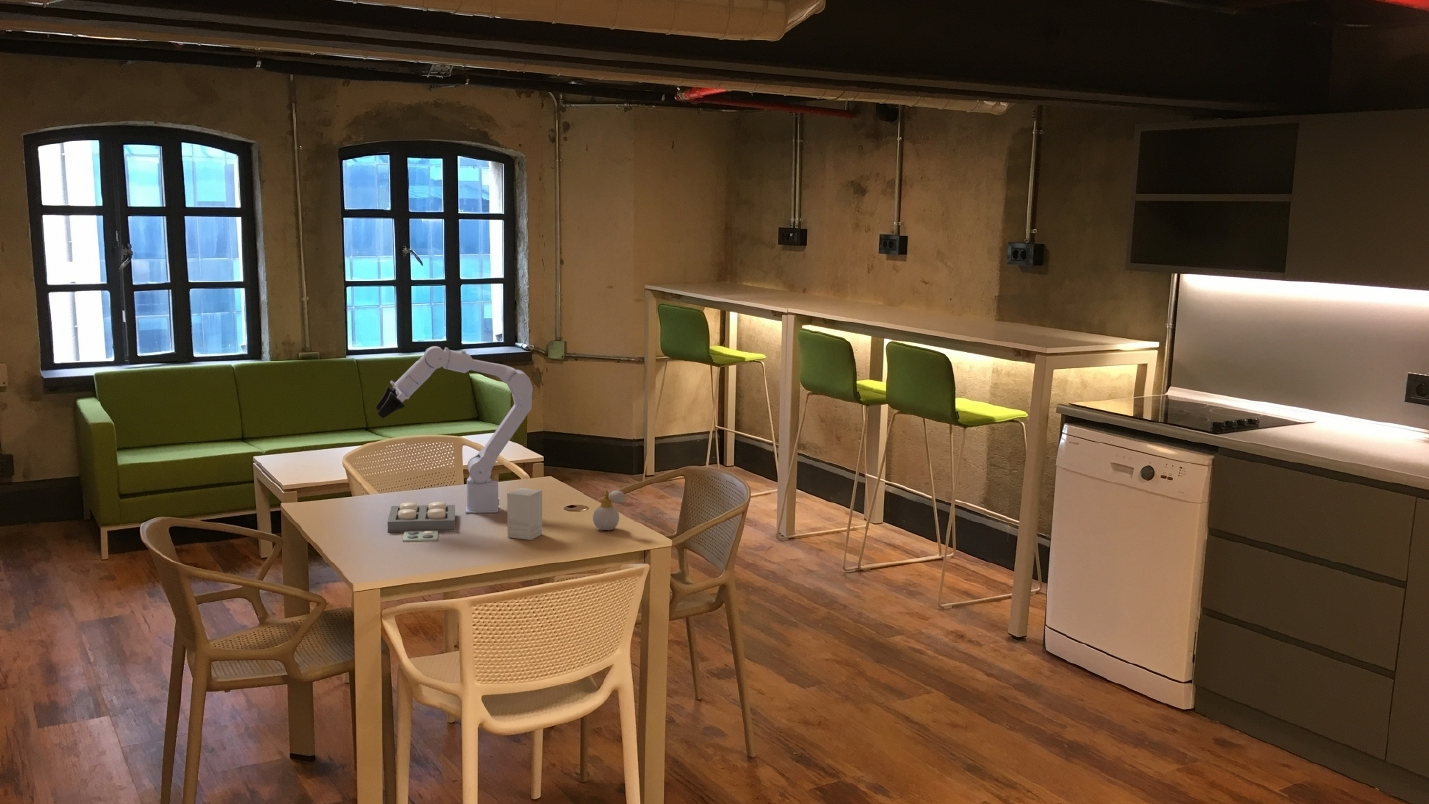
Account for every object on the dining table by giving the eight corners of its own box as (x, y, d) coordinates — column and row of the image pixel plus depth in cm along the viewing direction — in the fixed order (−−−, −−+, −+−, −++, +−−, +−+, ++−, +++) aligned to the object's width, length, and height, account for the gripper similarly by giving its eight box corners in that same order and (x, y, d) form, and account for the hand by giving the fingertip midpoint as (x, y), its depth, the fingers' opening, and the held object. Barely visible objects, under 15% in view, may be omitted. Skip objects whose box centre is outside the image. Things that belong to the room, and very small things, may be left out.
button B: (445, 517, 333) (445, 508, 333) (445, 521, 329) (445, 512, 328) (428, 517, 332) (427, 508, 332) (427, 522, 328) (427, 512, 327)
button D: (445, 510, 341) (445, 501, 341) (445, 514, 336) (445, 505, 336) (428, 510, 340) (428, 502, 340) (428, 514, 335) (428, 506, 335)
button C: (417, 511, 339) (417, 502, 339) (416, 515, 335) (416, 506, 334) (400, 511, 338) (400, 502, 338) (399, 515, 334) (399, 506, 333)
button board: (455, 514, 344) (455, 504, 344) (454, 530, 327) (454, 520, 327) (391, 516, 341) (391, 506, 340) (387, 532, 323) (387, 521, 323)
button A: (416, 517, 332) (416, 509, 331) (415, 522, 327) (415, 513, 327) (398, 518, 331) (398, 509, 330) (397, 522, 326) (397, 513, 326)
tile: (437, 532, 325) (437, 529, 325) (437, 540, 316) (437, 538, 316) (404, 532, 323) (404, 530, 323) (402, 541, 315) (402, 539, 314)
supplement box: (543, 534, 327) (543, 489, 325) (530, 540, 320) (530, 495, 318) (519, 531, 329) (519, 487, 327) (506, 537, 322) (506, 492, 320)
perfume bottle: (597, 525, 338) (598, 484, 336) (630, 528, 336) (630, 487, 334) (588, 531, 331) (589, 490, 329) (621, 534, 328) (622, 493, 327)
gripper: (400, 365, 345) (367, 398, 343) (405, 374, 331) (370, 409, 330) (418, 381, 347) (385, 414, 346) (423, 391, 334) (389, 425, 333)
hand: (379, 412), depth 338 cm, fingers open, 7 cm apart
